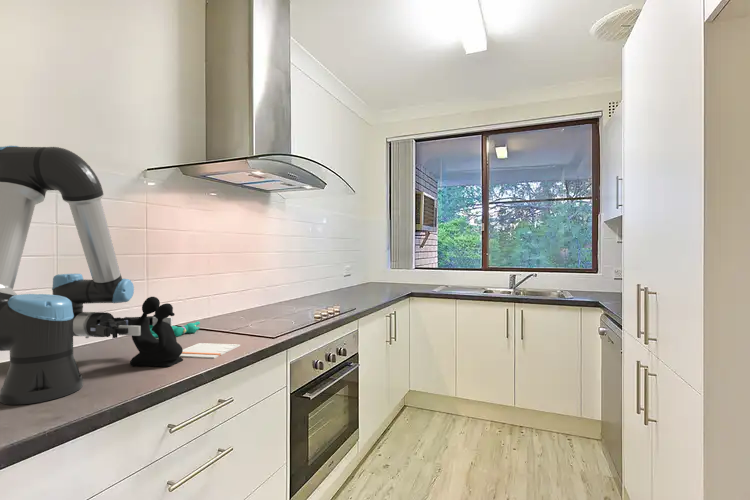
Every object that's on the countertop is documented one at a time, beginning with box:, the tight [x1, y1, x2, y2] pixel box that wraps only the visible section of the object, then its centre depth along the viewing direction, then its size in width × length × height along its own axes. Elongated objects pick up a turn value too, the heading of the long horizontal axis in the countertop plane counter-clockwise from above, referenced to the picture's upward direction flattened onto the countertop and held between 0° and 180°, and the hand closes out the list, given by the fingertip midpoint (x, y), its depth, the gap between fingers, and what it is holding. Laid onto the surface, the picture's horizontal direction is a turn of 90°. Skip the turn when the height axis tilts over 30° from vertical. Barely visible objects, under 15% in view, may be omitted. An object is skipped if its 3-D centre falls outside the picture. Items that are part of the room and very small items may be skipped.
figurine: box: [129, 296, 184, 368], centre depth 119 cm, size 14×9×20 cm, turn 83°
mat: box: [179, 342, 241, 359], centre depth 133 cm, size 16×16×1 cm
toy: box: [149, 320, 201, 339], centre depth 159 cm, size 7×22×20 cm
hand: (156, 326), depth 120 cm, fingers open, 13 cm apart
